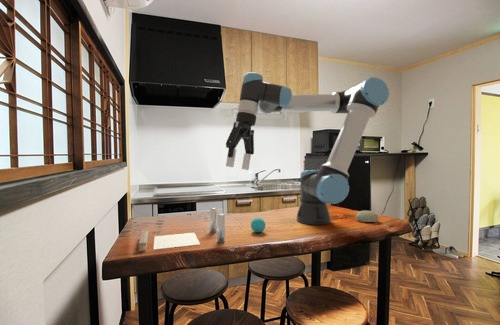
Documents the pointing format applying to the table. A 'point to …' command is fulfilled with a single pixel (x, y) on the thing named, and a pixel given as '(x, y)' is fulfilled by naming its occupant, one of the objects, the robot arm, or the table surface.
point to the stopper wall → (143, 241)
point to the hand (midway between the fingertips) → (237, 168)
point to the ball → (258, 225)
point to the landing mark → (175, 241)
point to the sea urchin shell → (367, 216)
